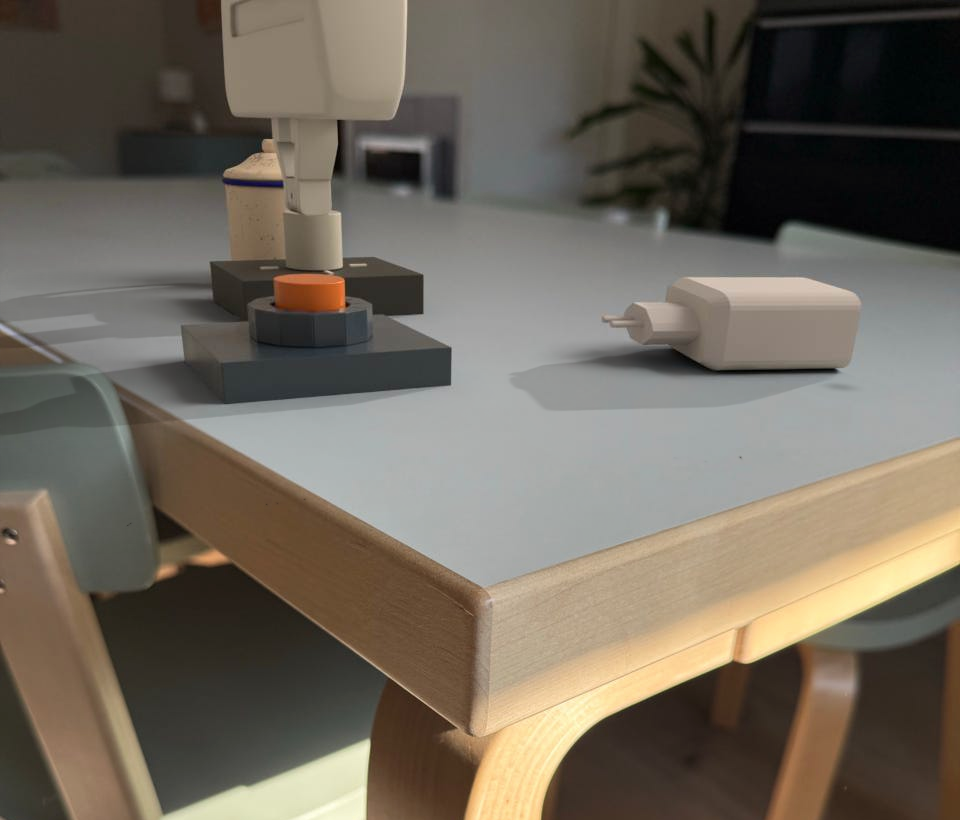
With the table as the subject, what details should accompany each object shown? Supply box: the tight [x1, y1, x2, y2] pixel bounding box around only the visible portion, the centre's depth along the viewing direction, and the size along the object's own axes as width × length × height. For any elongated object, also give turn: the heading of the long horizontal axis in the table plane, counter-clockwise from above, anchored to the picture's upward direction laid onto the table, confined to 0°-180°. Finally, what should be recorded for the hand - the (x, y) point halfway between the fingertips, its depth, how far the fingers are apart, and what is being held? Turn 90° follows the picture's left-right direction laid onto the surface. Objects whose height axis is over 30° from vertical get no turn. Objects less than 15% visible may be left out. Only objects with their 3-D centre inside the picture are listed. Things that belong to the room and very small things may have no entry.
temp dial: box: [283, 209, 344, 271], centre depth 76 cm, size 4×4×4 cm
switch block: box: [180, 296, 453, 405], centre depth 58 cm, size 13×11×4 cm
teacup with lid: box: [221, 138, 288, 261], centre depth 87 cm, size 12×9×12 cm
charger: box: [601, 276, 862, 371], centre depth 64 cm, size 5×9×15 cm
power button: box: [273, 274, 345, 311], centre depth 56 cm, size 4×4×2 cm
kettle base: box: [209, 256, 425, 322], centre depth 78 cm, size 14×11×3 cm
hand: (308, 214), depth 54 cm, fingers closed
